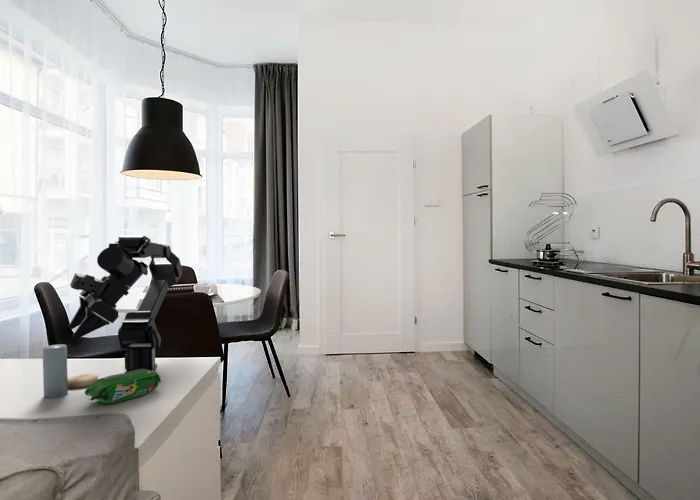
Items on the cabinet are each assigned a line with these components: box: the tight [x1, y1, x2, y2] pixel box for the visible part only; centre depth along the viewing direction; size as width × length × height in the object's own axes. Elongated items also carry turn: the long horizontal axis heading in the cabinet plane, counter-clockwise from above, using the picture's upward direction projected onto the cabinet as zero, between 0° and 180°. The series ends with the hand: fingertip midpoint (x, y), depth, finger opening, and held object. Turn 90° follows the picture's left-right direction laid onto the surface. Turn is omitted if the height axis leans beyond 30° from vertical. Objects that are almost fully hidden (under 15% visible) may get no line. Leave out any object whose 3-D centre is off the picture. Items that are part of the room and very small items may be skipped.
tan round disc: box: [68, 373, 99, 390], centre depth 104 cm, size 7×7×1 cm
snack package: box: [84, 369, 162, 404], centre depth 95 cm, size 7×16×5 cm, turn 142°
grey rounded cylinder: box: [41, 343, 69, 400], centre depth 96 cm, size 4×4×11 cm
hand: (72, 332), depth 101 cm, fingers open, 9 cm apart
